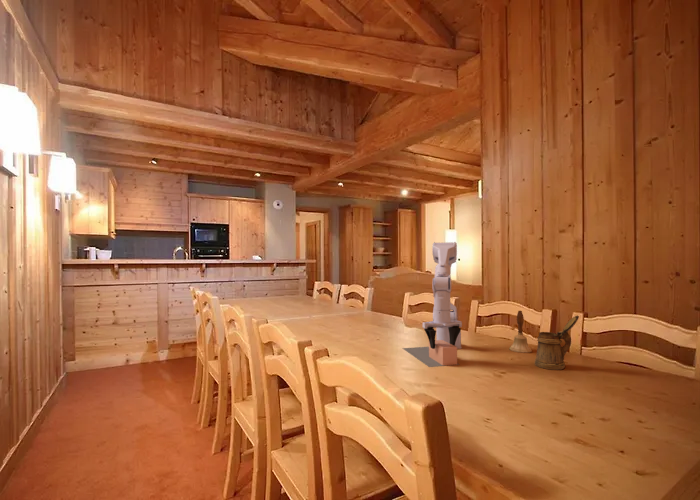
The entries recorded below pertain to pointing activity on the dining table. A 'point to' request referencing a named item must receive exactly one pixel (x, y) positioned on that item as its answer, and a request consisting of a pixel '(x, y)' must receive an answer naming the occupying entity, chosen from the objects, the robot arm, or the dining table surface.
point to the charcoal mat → (424, 356)
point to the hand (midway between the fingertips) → (442, 347)
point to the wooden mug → (553, 347)
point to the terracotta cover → (443, 353)
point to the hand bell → (520, 337)
